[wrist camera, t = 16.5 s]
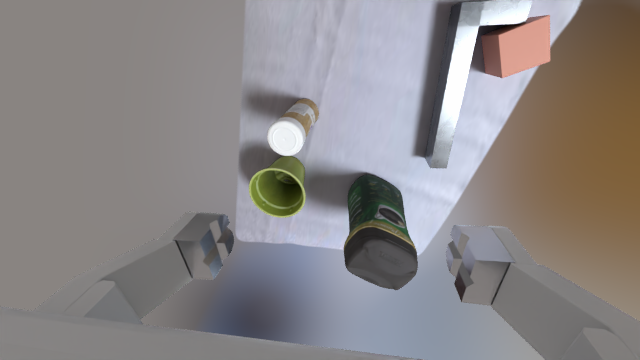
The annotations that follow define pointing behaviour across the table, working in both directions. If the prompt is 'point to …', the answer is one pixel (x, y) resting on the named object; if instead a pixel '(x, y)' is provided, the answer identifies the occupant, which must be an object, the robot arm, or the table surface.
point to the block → (517, 47)
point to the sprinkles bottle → (293, 128)
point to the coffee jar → (379, 235)
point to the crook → (463, 66)
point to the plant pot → (279, 188)
